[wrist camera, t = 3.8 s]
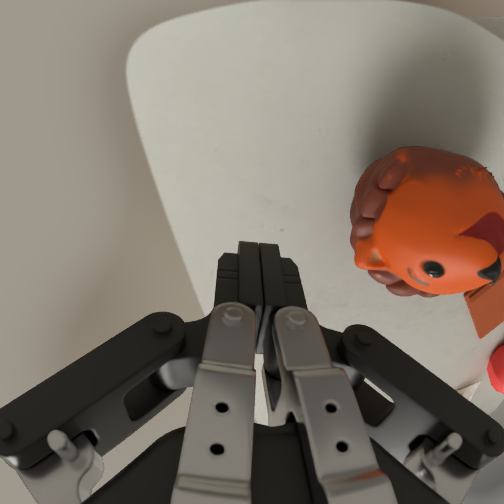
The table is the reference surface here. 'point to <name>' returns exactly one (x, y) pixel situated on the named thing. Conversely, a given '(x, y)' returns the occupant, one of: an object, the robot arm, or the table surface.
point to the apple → (497, 369)
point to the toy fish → (428, 223)
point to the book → (487, 306)
